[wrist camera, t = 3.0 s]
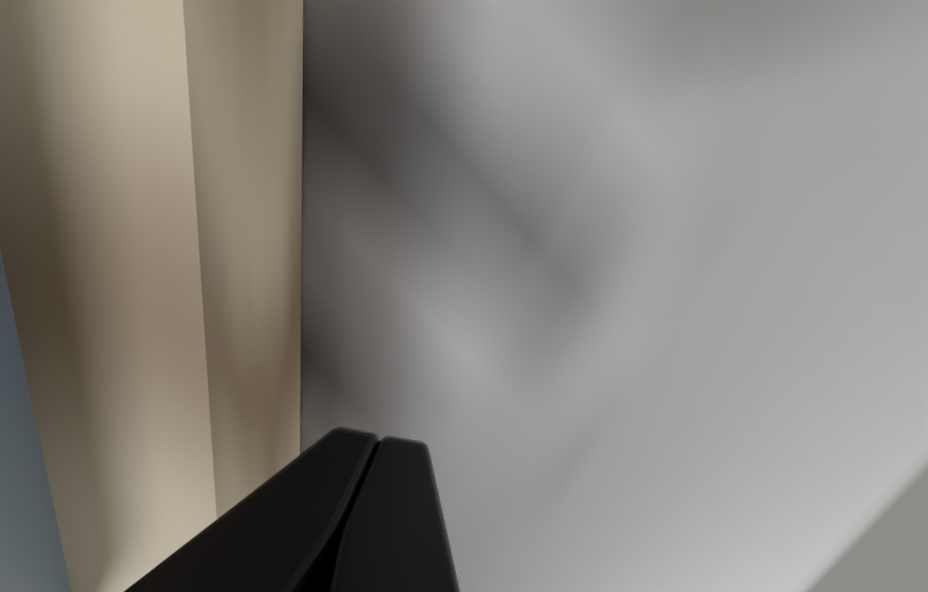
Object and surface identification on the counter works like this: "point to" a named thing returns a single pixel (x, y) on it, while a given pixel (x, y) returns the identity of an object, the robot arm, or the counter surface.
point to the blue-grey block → (23, 477)
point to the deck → (153, 261)
